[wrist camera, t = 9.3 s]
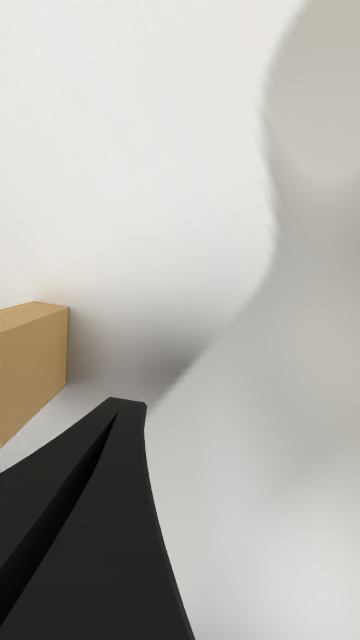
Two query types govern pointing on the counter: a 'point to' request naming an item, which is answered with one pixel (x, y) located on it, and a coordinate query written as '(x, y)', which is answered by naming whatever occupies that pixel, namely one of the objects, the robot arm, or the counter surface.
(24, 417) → the ochre domino
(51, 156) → the counter surface
